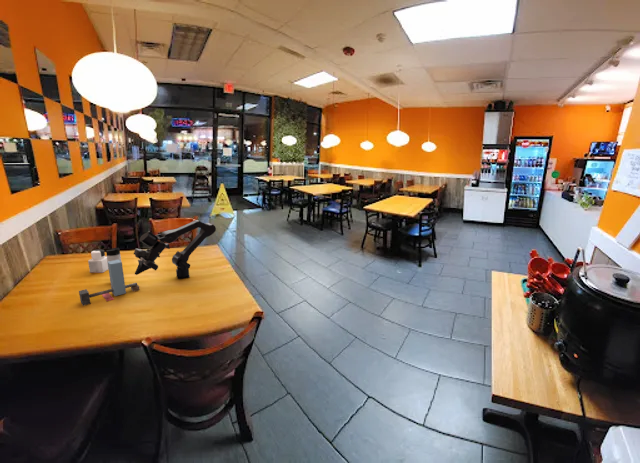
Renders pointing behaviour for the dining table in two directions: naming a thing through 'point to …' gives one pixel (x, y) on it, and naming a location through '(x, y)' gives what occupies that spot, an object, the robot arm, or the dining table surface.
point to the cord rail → (86, 296)
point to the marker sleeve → (116, 277)
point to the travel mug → (113, 254)
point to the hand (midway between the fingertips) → (135, 274)
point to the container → (98, 261)
